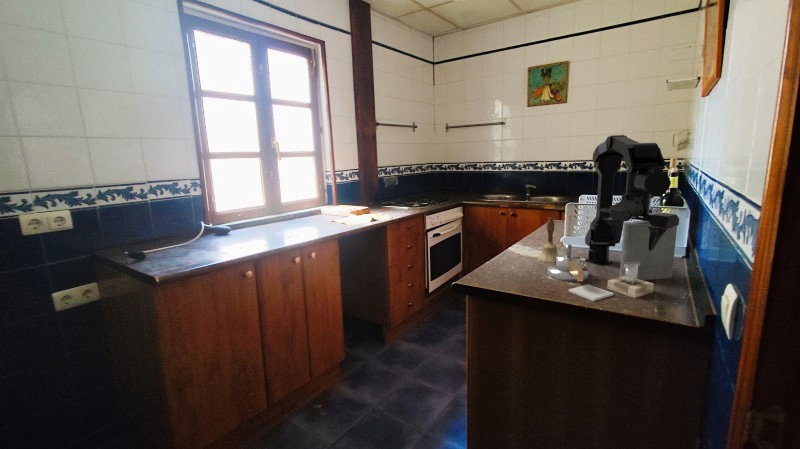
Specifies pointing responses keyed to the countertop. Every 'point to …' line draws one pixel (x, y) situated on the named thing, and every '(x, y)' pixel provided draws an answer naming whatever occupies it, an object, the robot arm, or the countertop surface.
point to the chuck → (570, 263)
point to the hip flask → (637, 249)
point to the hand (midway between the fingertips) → (633, 246)
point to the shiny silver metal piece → (631, 272)
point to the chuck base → (564, 273)
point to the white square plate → (590, 292)
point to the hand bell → (549, 245)
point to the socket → (630, 287)
